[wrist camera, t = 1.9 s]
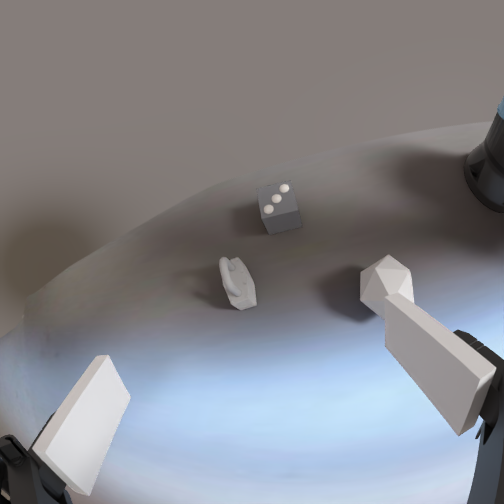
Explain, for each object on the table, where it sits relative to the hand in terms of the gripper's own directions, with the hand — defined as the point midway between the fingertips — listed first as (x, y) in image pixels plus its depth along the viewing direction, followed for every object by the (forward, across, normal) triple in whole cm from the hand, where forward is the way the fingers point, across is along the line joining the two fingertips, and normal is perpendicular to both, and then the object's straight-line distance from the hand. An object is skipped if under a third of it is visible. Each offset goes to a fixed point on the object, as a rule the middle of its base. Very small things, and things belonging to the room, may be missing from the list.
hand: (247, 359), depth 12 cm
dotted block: (+40, +8, +1) cm, 41 cm away
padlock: (+34, -2, -9) cm, 36 cm away
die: (+27, +20, -13) cm, 36 cm away
